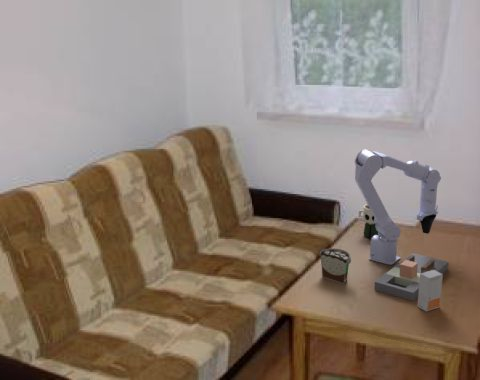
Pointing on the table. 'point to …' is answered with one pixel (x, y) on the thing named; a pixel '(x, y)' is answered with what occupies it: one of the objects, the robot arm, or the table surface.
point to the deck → (406, 286)
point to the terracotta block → (408, 269)
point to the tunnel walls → (425, 267)
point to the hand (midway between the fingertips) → (426, 232)
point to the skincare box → (430, 290)
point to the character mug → (368, 222)
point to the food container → (335, 264)
